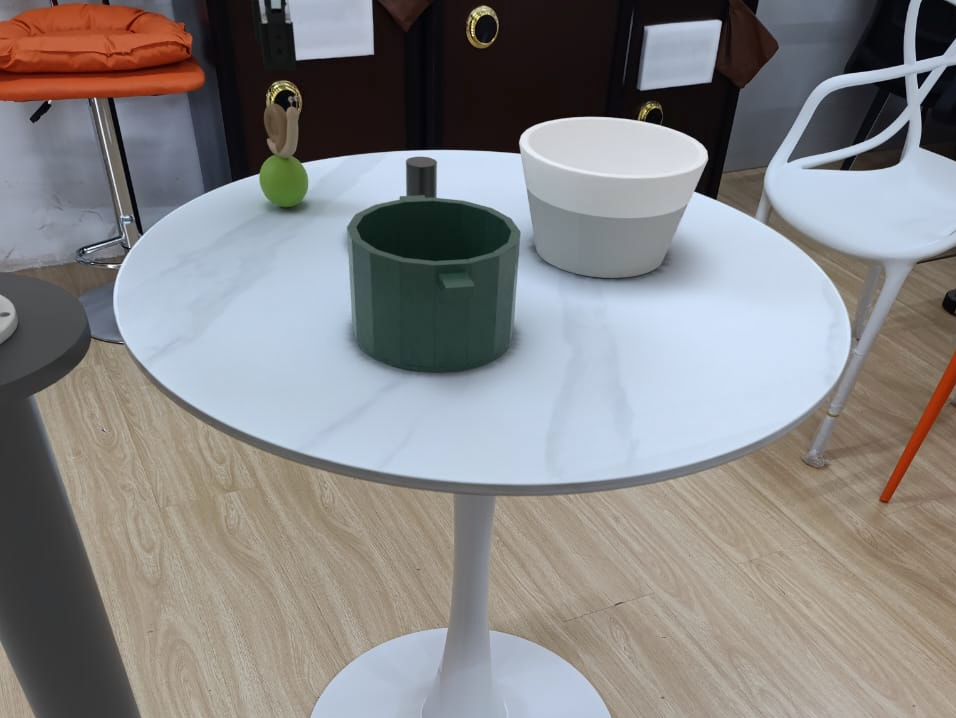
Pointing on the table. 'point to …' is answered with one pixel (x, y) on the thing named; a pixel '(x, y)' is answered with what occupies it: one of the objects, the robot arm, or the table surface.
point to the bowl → (607, 192)
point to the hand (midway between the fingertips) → (276, 56)
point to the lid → (421, 177)
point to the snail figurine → (283, 158)
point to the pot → (433, 283)
